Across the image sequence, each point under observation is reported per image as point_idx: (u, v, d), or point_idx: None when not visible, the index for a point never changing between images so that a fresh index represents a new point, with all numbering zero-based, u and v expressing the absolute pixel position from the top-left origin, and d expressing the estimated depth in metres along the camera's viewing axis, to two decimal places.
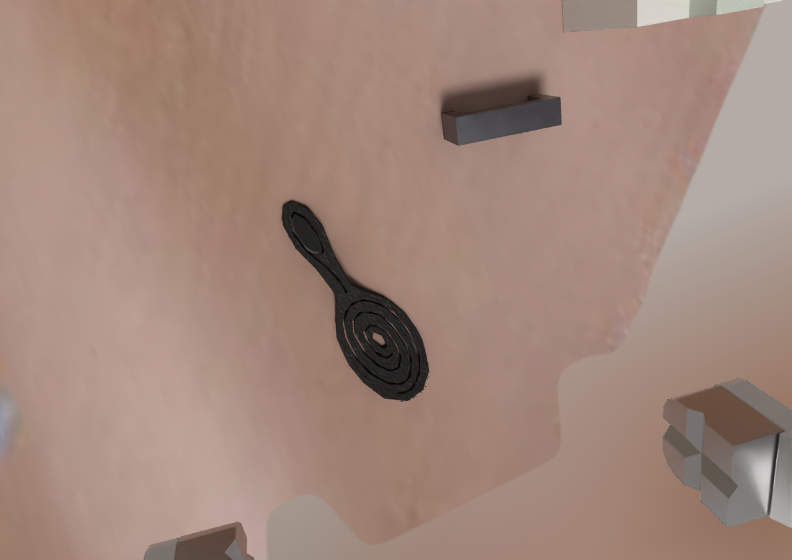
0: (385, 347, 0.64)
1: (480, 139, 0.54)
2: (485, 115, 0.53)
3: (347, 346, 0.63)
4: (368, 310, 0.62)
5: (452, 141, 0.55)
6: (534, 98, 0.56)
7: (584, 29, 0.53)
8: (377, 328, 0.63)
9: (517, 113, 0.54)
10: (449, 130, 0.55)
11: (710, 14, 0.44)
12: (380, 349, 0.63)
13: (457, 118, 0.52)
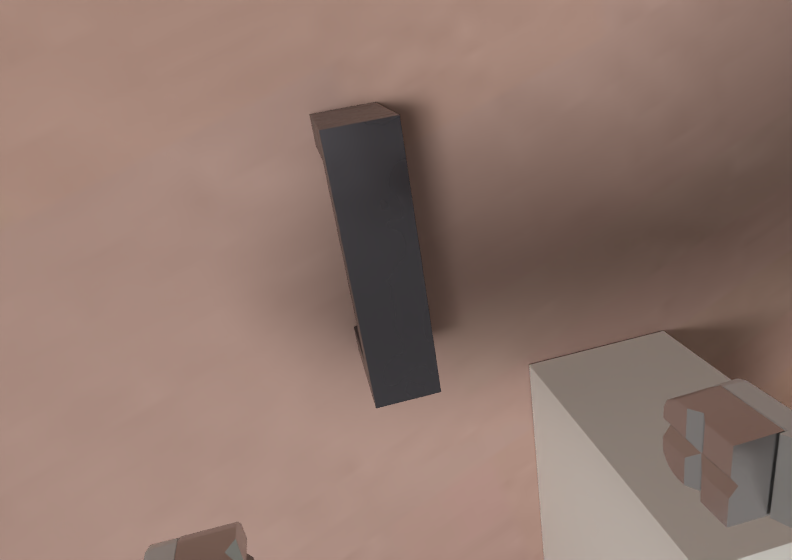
0: None
1: (337, 198, 0.18)
2: (403, 206, 0.19)
3: None
4: None
5: (319, 122, 0.19)
6: None
7: (571, 411, 0.24)
8: None
9: (406, 293, 0.20)
10: (346, 115, 0.20)
11: None
12: None
13: (397, 122, 0.18)
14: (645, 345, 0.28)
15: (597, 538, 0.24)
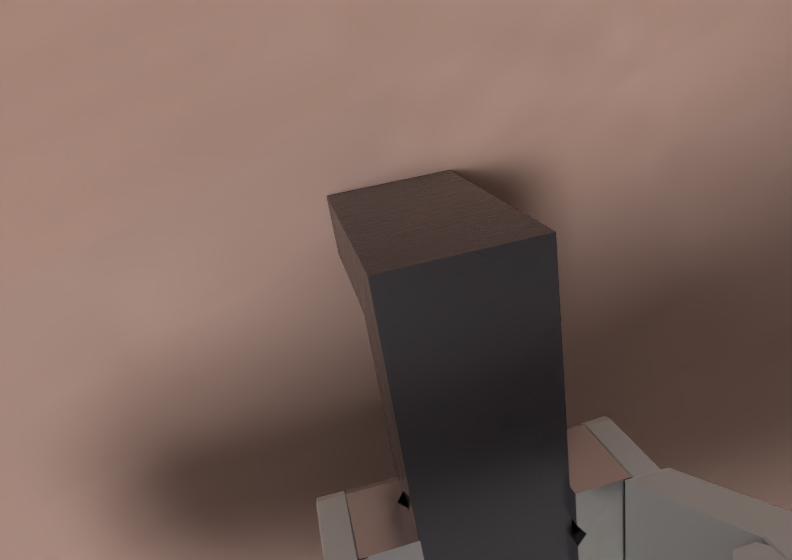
0: None
1: (405, 416, 0.08)
2: (546, 418, 0.09)
3: None
4: None
5: (356, 234, 0.09)
6: None
7: None
8: None
9: None
10: (411, 213, 0.09)
11: None
12: None
13: (549, 248, 0.08)
14: None
15: None
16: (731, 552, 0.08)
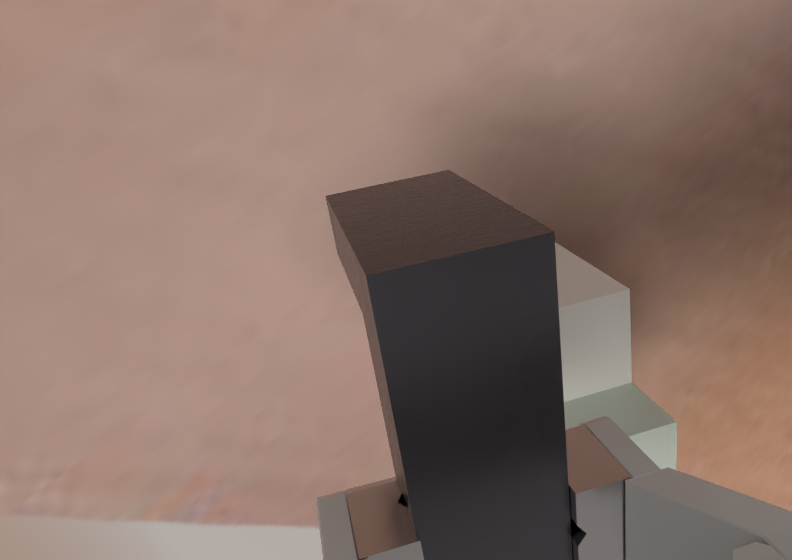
0: None
1: (404, 416, 0.08)
2: (544, 418, 0.09)
3: None
4: None
5: (355, 233, 0.09)
6: None
7: None
8: None
9: None
10: (409, 213, 0.09)
11: None
12: None
13: (548, 247, 0.08)
14: None
15: None
16: (731, 552, 0.08)
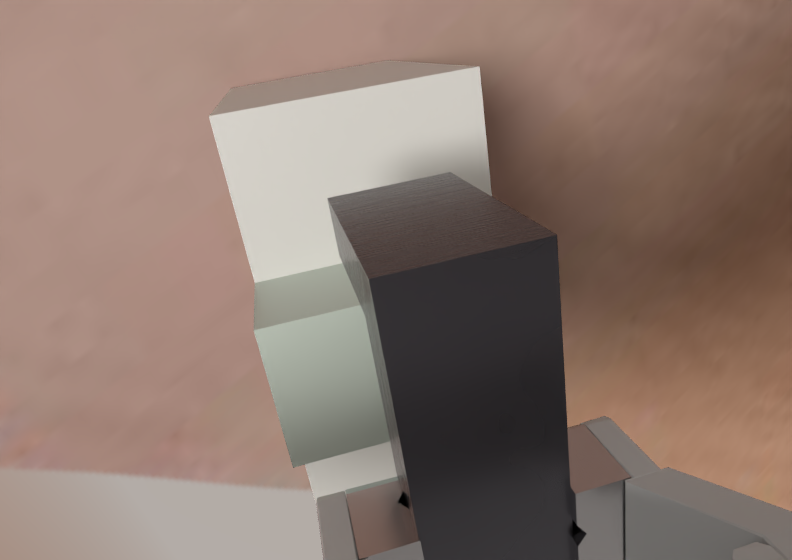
0: None
1: (406, 419, 0.08)
2: (546, 421, 0.09)
3: None
4: None
5: (357, 236, 0.09)
6: None
7: (229, 93, 0.22)
8: None
9: None
10: (412, 216, 0.09)
11: (257, 318, 0.14)
12: None
13: (550, 250, 0.08)
14: (358, 66, 0.25)
15: None
16: (731, 552, 0.08)
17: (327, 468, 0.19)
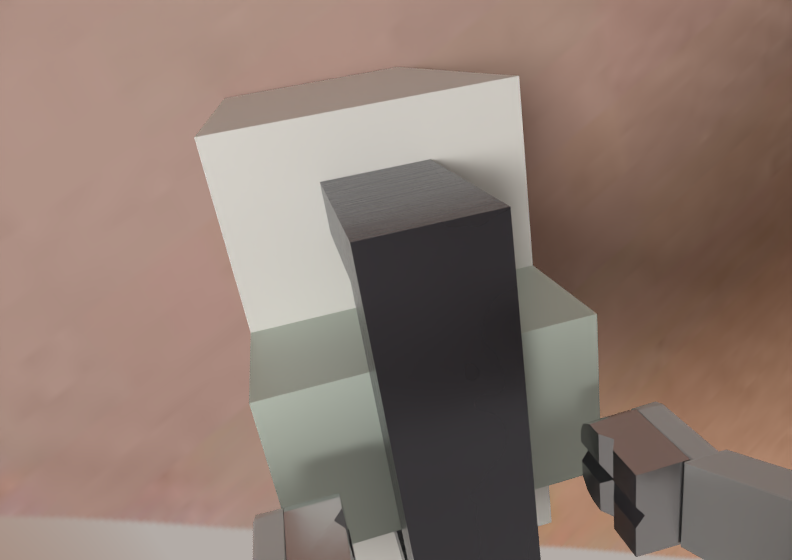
0: None
1: (384, 365, 0.09)
2: (506, 370, 0.10)
3: None
4: None
5: (343, 211, 0.10)
6: None
7: (222, 105, 0.19)
8: None
9: (501, 513, 0.11)
10: (392, 194, 0.11)
11: (253, 384, 0.11)
12: None
13: (505, 220, 0.09)
14: (366, 73, 0.23)
15: None
16: None
17: None
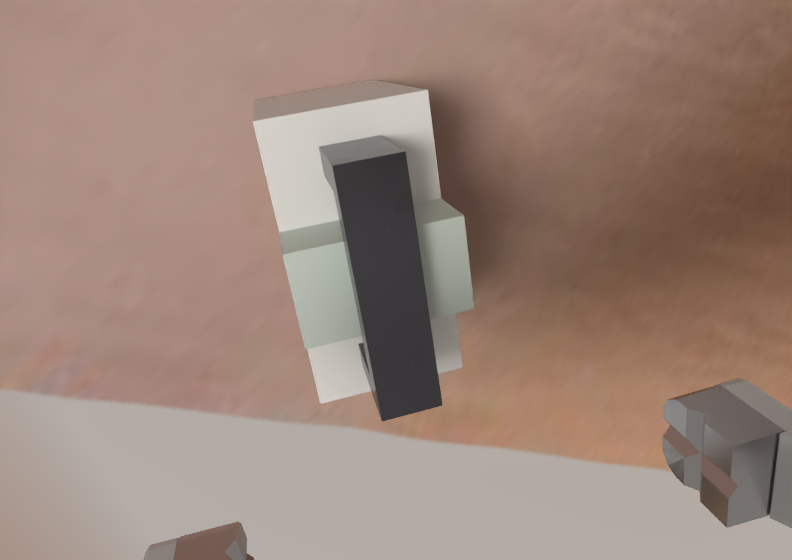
0: None
1: (348, 226, 0.20)
2: (408, 233, 0.20)
3: None
4: None
5: (330, 156, 0.21)
6: None
7: (255, 105, 0.30)
8: None
9: (410, 314, 0.22)
10: (354, 150, 0.21)
11: (283, 249, 0.22)
12: None
13: (403, 157, 0.20)
14: (350, 84, 0.33)
15: None
16: None
17: (326, 368, 0.27)
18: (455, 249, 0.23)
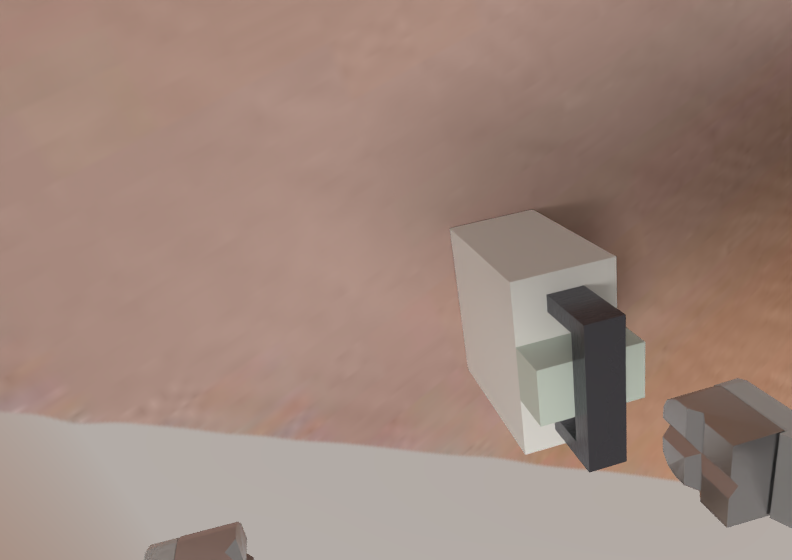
0: None
1: (587, 358, 0.33)
2: (620, 360, 0.33)
3: None
4: None
5: (570, 312, 0.33)
6: None
7: (467, 242, 0.42)
8: None
9: (615, 406, 0.34)
10: (582, 305, 0.34)
11: (533, 365, 0.35)
12: None
13: (623, 318, 0.32)
14: (519, 215, 0.46)
15: (483, 314, 0.42)
16: None
17: (532, 431, 0.39)
18: (637, 362, 0.35)
